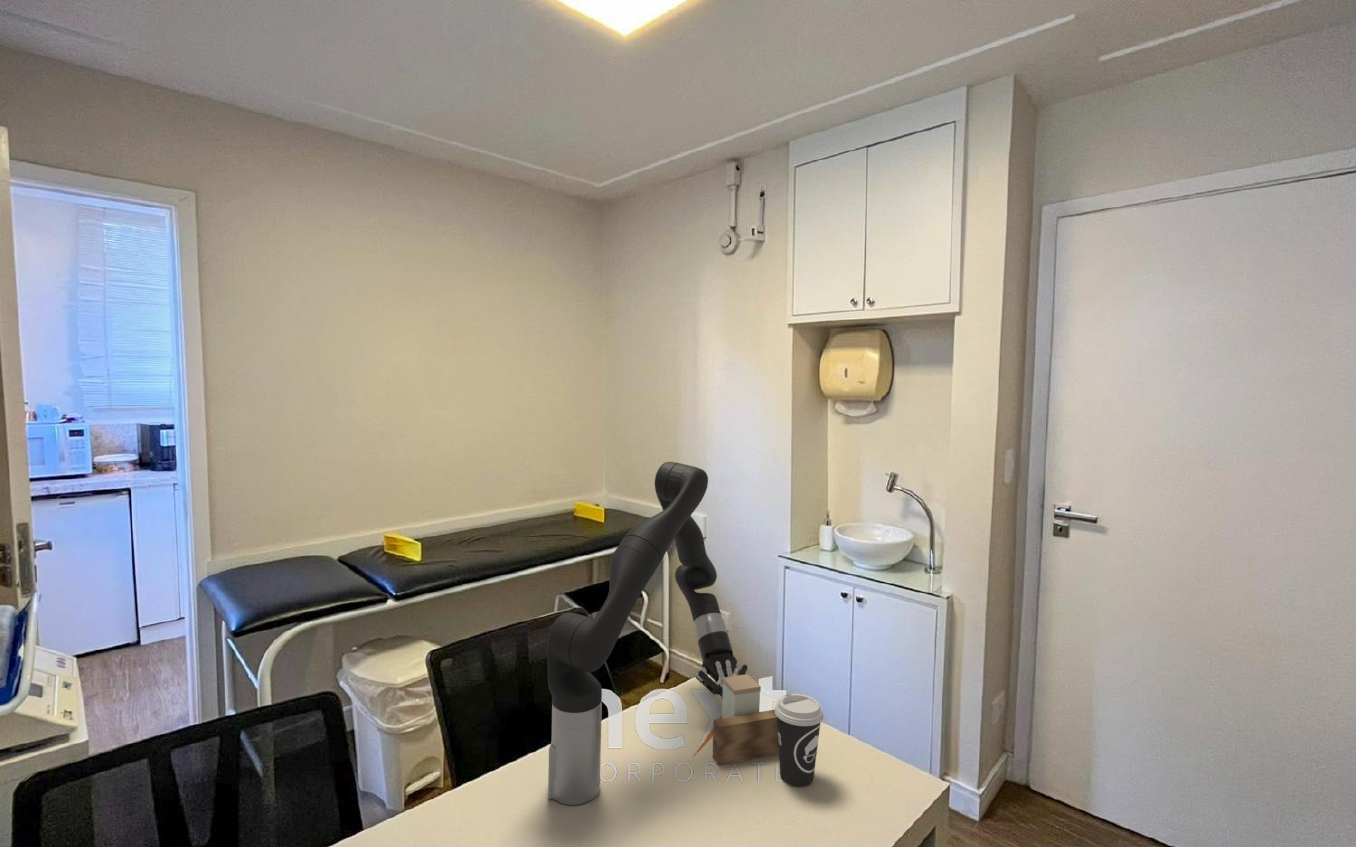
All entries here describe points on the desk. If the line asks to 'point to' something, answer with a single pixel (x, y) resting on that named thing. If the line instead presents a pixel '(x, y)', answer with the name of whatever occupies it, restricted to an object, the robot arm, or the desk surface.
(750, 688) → the canister
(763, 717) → the board
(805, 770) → the coffee cup
